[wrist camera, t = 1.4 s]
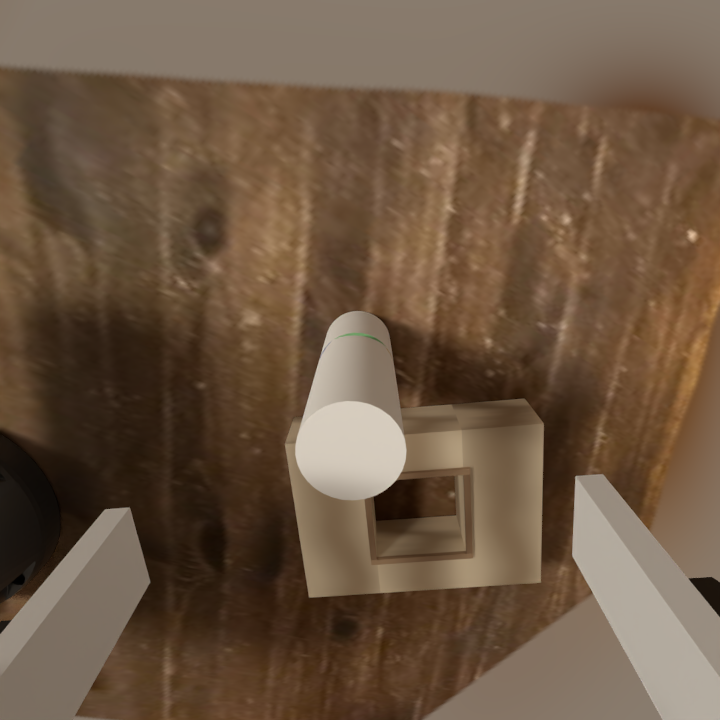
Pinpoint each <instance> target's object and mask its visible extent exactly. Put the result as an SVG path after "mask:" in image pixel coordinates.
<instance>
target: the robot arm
mask: <svg viewBox="0 0 720 720" xmlns="http://www.w3.org/2000/svg"><path fill="white" fill-rule="evenodd" d="M59 534H60V512H59V507H58V503H57V500H56V497H55V494H54V492H53V490H52V487H51V485H50V484H49V482H48V480H47V478H46V477H45V475H44V474H43V472H42V471H41V470H40V468H39V467H38V466H37V465H36V463H35V462H34V461H33V460H32V459H31V458H30V457H29V456H28V455H27V454H26V453H25V452H24V451H23V450H22V449H20V448H19V447H18V446H17V445H16V444H14V443H13V442H11V441H10V440H9V439H7V438H6V437H4V436H2V435H1V434H0V603H2V602H4V601H5V600H7V599H9V598H10V597H12V596H13V595H15V594H16V593H18V592H19V591H20V590H21V589H23V588H24V587H25V586H26V585H27V584H28V583H29V582H30V581H31V580H32V579H33V578H34V577H35V575H36V574H37V573H38V572H39V571H40V570H41V568H42V567H43V566H44V565H45V564H46V563H47V561H48V560H49V559H50V557H51V556H52V554H53V552H54V550H55V548H56V545H57V543H58V539H59ZM572 556H573V558H574V560H575V562H576V563H577V565H578V567H579V569H580V571H581V573H582V574H583V576H584V578H585V580H586V582H587V583H588V585H589V587H590V589H591V591H592V593H593V594H594V596H595V598H596V600H597V602H598V603H599V605H600V607H601V609H602V611H603V612H604V614H605V616H606V618H607V620H608V622H609V623H610V625H611V627H612V629H613V631H614V632H615V634H616V636H617V638H618V640H619V641H620V643H621V645H622V647H623V648H624V650H625V652H626V654H627V656H628V658H629V660H630V662H631V663H632V665H633V667H634V669H635V671H636V672H637V674H638V676H639V678H640V679H641V682H642V683H643V685H644V687H645V689H646V691H647V692H648V694H649V696H650V698H651V700H652V701H653V703H654V705H655V707H656V709H657V710H658V712H659V714H660V716H661V718H662V720H720V582H718V581H717V580H715V579H714V578H712V577H706V578H691V579H690V578H689V579H688V578H687V577H686V575H685V574H684V573H683V572H682V570H681V569H680V568H679V567H678V566H677V564H676V563H675V562H674V561H673V560H672V558H671V557H670V556H669V555H668V553H667V552H666V551H665V550H664V548H663V547H662V546H661V545H660V544H659V542H658V541H657V540H656V539H655V537H654V536H653V535H652V534H651V532H650V531H649V530H648V529H647V528H646V526H645V525H644V524H643V523H642V521H641V520H640V519H639V518H638V517H637V515H636V514H635V513H634V512H633V510H632V509H631V508H630V507H629V506H628V504H627V503H626V502H625V501H624V499H623V498H622V497H621V496H620V495H619V493H618V492H617V491H616V490H615V488H614V487H613V486H612V485H611V484H610V482H609V481H608V480H607V479H606V477H605V476H604V475H603V474H598V475H584V476H576V477H575V501H574V524H573V548H572ZM149 584H150V579H149V575H148V571H147V568H146V564H145V561H144V557H143V553H142V550H141V546H140V542H139V539H138V535H137V532H136V528H135V524H134V521H133V517H132V513H131V510H130V507H129V508H115V509H105V510H104V511H103V512H102V513H101V515H100V516H99V517H98V518H97V519H96V521H95V522H94V523H93V524H92V525H91V527H90V528H89V529H88V530H87V531H86V533H85V534H84V535H83V536H82V537H81V538H80V540H79V541H78V542H77V543H76V544H75V546H74V547H73V548H72V549H71V550H70V552H69V553H68V554H67V555H66V556H65V558H64V559H63V560H62V561H61V562H60V564H59V565H58V566H57V567H56V568H55V569H54V571H53V572H52V573H51V574H50V575H49V577H48V578H47V579H46V580H45V581H44V583H43V584H42V585H41V586H40V587H39V589H38V590H37V591H36V592H35V593H34V594H33V596H32V597H31V598H30V599H29V600H28V602H27V603H26V604H25V605H24V606H23V608H22V609H21V610H20V611H19V612H18V614H17V615H16V616H15V617H14V618H13V620H10V621H1V622H0V720H73V718H74V716H75V714H76V712H77V711H78V709H79V707H80V705H81V704H82V702H83V700H84V698H85V697H86V695H87V693H88V691H89V690H90V688H91V686H92V684H93V682H94V681H95V679H96V677H97V675H98V674H99V672H100V670H101V668H102V667H103V665H104V663H105V661H106V660H107V658H108V656H109V654H110V652H111V651H112V649H113V647H114V645H115V644H116V642H117V640H118V638H119V637H120V635H121V633H122V631H123V630H124V628H125V626H126V624H127V622H128V621H129V619H130V617H131V615H132V614H133V612H134V610H135V608H136V607H137V605H138V603H139V601H140V600H141V598H142V596H143V594H144V592H145V591H146V589H147V587H148V585H149Z"/></svg>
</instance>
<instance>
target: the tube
mask: <svg viewBox="0 0 720 720" xmlns="http://www.w3.org/2000/svg"><path fill="white" fill-rule="evenodd" d="M295 456H296V460H297V465H298V467H299V469H300V471H301V473H302V475H303V476H304V477H305V479H306V480H307V481H308V482H309V483H310V484H311V485H312V486H313V487H314V488H315V489H317V490H318V491H320V492H321V493H323V494H326V495H328V496H330V497H333V498H337V499H341V500H361V499H367V498H370V497H373V496H376V495H378V494H379V493H381V492H383V491H385V490H386V489H387V488H389V487H390V486H391V485H392V484H393V483H394V482H395V481H396V480H397V478H398V477H399V475H400V473H401V472H402V470H403V467H404V464H405V461H406V443H405V436H404V430H403V423H402V416H401V409H400V402H399V395H398V389H397V382H396V375H395V369H394V362H393V355H392V349H391V342H390V335H389V332H388V329H387V328H386V326H385V324H384V323H383V322H382V321H381V320H380V319H379V318H378V317H376V316H375V315H373V314H370V313H368V312H364V311H353V312H348V313H345V314H343V315H341V316H340V317H338V318H337V319H336V320H335V321H334V322H333V323H332V324H331V326H330V328H329V330H328V332H327V336H326V339H325V342H324V346H323V349H322V353H321V356H320V360H319V363H318V366H317V370H316V373H315V377H314V380H313V384H312V387H311V391H310V394H309V398H308V401H307V405H306V408H305V411H304V415H303V418H302V422H301V425H300V429H299V432H298V436H297V440H296V444H295Z"/></svg>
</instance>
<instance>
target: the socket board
mask: <svg viewBox="0 0 720 720" xmlns="http://www.w3.org/2000/svg"><path fill="white" fill-rule="evenodd" d="M400 409H401V416H402V423H403V430H404V436H405V443H406V461H405V464H404V467H403V470H402V472H401V473H400V475H399V477H398V478H397V480H404V479H417V478H431V477H444V476H455V498H456V515H453V516H439V517H425V518H411V519H397V520H383V521H376V517H375V507H374V497H370V498H367V499H361V500H341V499H337V498H333V497H330V496H328V495H326V494H323V493H321V492H320V491H318V490H317V489H315V488H314V487H313V486H312V485H311V484H310V483H309V482H308V481H307V480H306V479H305V477H304V476H303V475H302V473H301V471H300V469H299V467H298V465H297V460H296V456H295V444H296V440H297V436H298V432H299V429H300V425H301V422H302V418H303V416H301V417H294V418H293V421H292V424H291V427H290V430H289V433H288V436H287V439H286V442H285V448H286V454H287V461H288V467H289V473H290V480H291V486H292V493H293V499H294V505H295V512H296V518H297V524H298V531H299V537H300V543H301V550H302V556H303V562H304V569H305V575H306V582H307V588H308V594H309V598H312V597H327V596H343V595H358V594H374V593H389V592H404V591H420V590H435V589H450V588H466V587H481V586H496V585H512V584H527V583H541V542H542V493H543V443H544V423H543V422H542V421H541V419H540V418H539V417H538V415H537V414H536V413H535V411H534V410H533V409H532V407H531V406H530V405H529V403H528V402H527V401H526V399H525V398H524V399H512V400H499V401H487V402H474V403H462V404H450V405H437V406H425V407H413V408H400Z"/></svg>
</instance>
